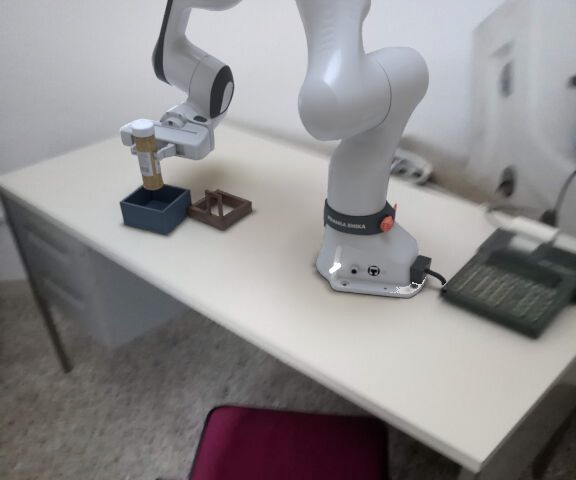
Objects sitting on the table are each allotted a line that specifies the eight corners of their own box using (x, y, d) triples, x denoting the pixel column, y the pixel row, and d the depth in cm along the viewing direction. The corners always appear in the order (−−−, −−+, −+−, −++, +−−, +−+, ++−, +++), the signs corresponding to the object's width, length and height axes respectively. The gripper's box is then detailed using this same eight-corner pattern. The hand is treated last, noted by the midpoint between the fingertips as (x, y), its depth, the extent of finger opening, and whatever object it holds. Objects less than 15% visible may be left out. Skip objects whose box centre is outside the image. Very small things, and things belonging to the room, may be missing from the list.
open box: (193, 211, 137) (190, 189, 133) (166, 235, 130) (162, 212, 126) (152, 202, 141) (148, 179, 137) (124, 224, 133) (119, 202, 129)
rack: (252, 211, 137) (250, 178, 131) (223, 231, 131) (219, 197, 126) (218, 198, 141) (215, 166, 136) (188, 216, 136) (183, 183, 130)
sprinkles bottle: (168, 185, 130) (158, 123, 120) (151, 193, 128) (139, 130, 118) (155, 179, 132) (144, 117, 123) (138, 186, 130) (126, 123, 120)
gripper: (138, 107, 134) (100, 130, 125) (218, 122, 128) (184, 147, 119) (143, 135, 138) (107, 159, 129) (221, 150, 132) (188, 177, 123)
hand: (145, 154), depth 124 cm, fingers closed on sprinkles bottle, 4 cm apart
